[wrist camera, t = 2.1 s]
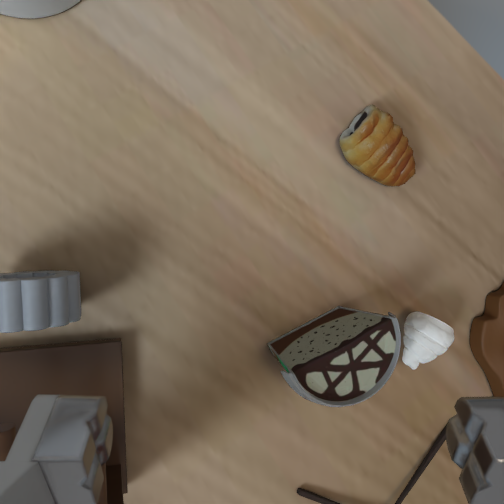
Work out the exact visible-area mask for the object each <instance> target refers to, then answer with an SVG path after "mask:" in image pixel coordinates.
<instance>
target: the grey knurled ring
mask: <svg viewBox="0 0 504 504" xmlns="http://www.w3.org/2000/svg"><path fill="white" fill-rule="evenodd" d="M80 319H81V293H80V272H77V271H67V270H63V271H52V270H46V271H25V272H14V273H0V332H2V333H11V332H19V331H23V330H25V331H35V330H42V329H46V328H48V327H59V326H64V325H67V324H69V322H76V321H79V320H80Z"/></svg>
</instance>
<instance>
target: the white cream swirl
mask: <svg viewBox="0 0 504 504" xmlns="http://www.w3.org/2000/svg"><path fill="white" fill-rule="evenodd" d="M404 334H405V335H404V337H403V341H404V345H405V347H404V350H403V357H402V361H403V362H404V363H405V364H406V365H408V366H409V367H410V368H411V369H413V370H414V369H416V368H417V367H418V365H419V362H421V363H427V362H430V361H432V360H434V359H435V358H437V355H441V354H443V353H444V352H446V351H447V349H448V347H449V346H450V345H451V344H452V342H453V341H454V330H453V329H452V328H451V327H450V326H449V325H447V324H446V323H444V322H442V321H440V320H438V319H436V318H434V317H432V316H430V315H427V314H425V313H422V312H418V311H416V312H412V313H410V314H409V315H408V316H407V318H406V322H405V323H404Z"/></svg>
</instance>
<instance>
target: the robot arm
mask: <svg viewBox="0 0 504 504" xmlns="http://www.w3.org/2000/svg"><path fill="white" fill-rule="evenodd" d="M79 1H80V0H0V14H3V15H6V16H11V17H16V18H43V17H48V16H52V15H56V14H58V13H61V12H63V11H65V10H67V9H69V8H71V7H72V6H74V5H75V4H77V3H78V2H79ZM107 408H108V402H107V399H106V396H84V395H37V396H36V397H35V398H34V399H33V400H32V402H31V404H30V406H29V408H28V411H27V413H26V415H25V417H24V420H23V422H22V424H21V426H20V428H19V431H18V433H17V435H16V437H15V440H14V442H13V444H12V446H11V449H10V451H9V453H8V455H7V457H6V460H5V461H0V504H97V503H98V500H99V496H100V492H101V488H102V484H103V480H104V475H103V472H102V468H101V466H102V465H103V464H104V463H105V462H106V461H107V460H108V459H109V457H110V452H111V448H112V441H113V423H112V419H111V417H110V416H109V415H107V414H106V412H107ZM455 410H456V412H457V414H456V415H455V416H453V417H452V418H450V419H449V422H448V424H447V427H446V442H447V446H448V451H449V453H450V456H451V459H452V460H453V461H454V462H455V463H456V464H457V465H458V466H459V467H460V468H461V469H462V471H461V474H460V477H459V480H460V483H461V485H462V488H463V490H464V493H465V496H466V498H467V501H468V503H469V504H504V397H461V398H459V399H458V400H457V402H456V404H455Z"/></svg>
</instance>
